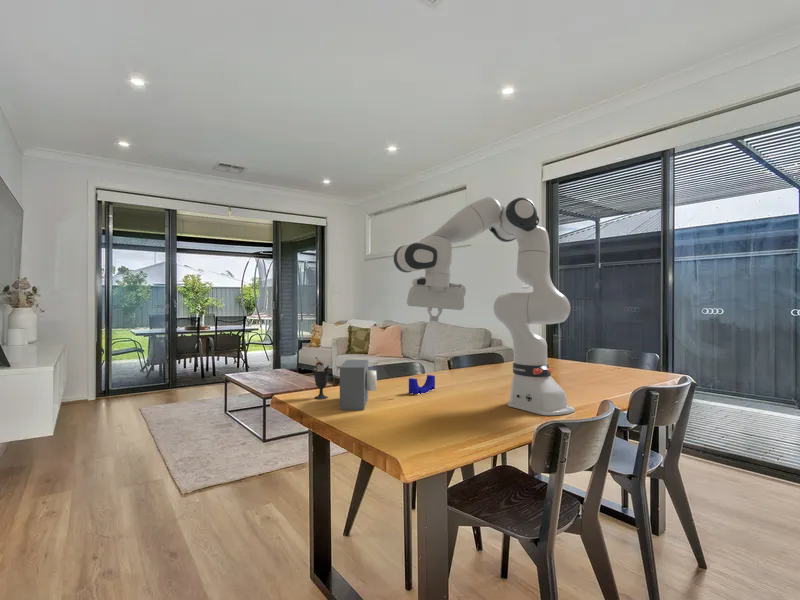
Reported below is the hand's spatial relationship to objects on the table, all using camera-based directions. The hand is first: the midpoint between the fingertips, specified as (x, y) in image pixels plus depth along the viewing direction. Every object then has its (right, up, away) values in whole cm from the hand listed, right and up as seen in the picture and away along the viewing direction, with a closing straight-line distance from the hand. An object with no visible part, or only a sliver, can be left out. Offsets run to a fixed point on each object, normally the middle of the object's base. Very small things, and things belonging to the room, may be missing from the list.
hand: (433, 321), depth 152 cm
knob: (-25, -24, -2) cm, 35 cm away
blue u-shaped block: (-3, -29, +17) cm, 34 cm away
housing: (-28, -29, -2) cm, 40 cm away
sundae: (-41, -29, +6) cm, 51 cm away
